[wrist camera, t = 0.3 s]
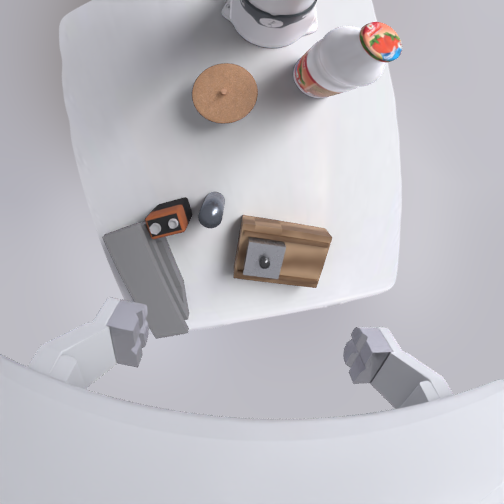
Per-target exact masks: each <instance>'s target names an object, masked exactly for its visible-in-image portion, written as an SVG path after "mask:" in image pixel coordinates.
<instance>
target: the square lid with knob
mask: <svg viewBox="0 0 504 504" xmlns="http://www.w3.org/2000/svg"><path fill="white" fill-rule="evenodd" d="M285 250H286V245H285V243H284V242H282V241H275V240H268V239H262V238H255V237H249V238H248V243H247V249H246V254H245V260H244V265H243V275H249V276H257V277H265V278H273V279H278V278H279V274H280V270H281V266H282V262H283V258H284V254H285Z"/></svg>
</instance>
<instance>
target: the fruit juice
mask: <svg viewBox="0 0 504 504" xmlns="http://www.w3.org/2000/svg"><path fill="white" fill-rule="evenodd" d="M401 51H402V44H401V40H400V38H399V36H398V35H397V33H396V32H395V31H394V30H393V29H392V28H391V27H389V26H387V25H386V24H383V23H380V22H372V23H369V24H366V25H365V26H363V27H362V29H361V28H358V27H353V26H341V27H338V28H335V29H333V30H331V31H330V32H328V33H327V34H326V35H325V36H324V37H323V39H321V40H319V41H318V42H316V43H315V44H314V45H313V46H312V47H311V48H310V49H309V50H308V51H307V52H306V53H305V54H304V55H303V56H302V57H301V58H300V59H299V61H298V62H297V63H296V65H295V67H294V71H293V77H294V81H295V83H296V85H297V87H298V88H299V89H300V90H301V91H302V92H303V93H305V94H306V95H308V96H311V97H314V98H325V97H329V96H332V95H336V94H339V93H343V92H347V91H351V90H353V89H355V88H357V87H362V86H366V85H369V84H371V83H373V82H375V81H376V80H378V79H379V78H380V76H381V75H382V73H383V71H384V69H385V62H390V61H393V60H395V59H397V58H398V57H399V55H400V54H401Z"/></svg>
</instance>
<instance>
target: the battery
mask: <svg viewBox="0 0 504 504" xmlns="http://www.w3.org/2000/svg"><path fill="white" fill-rule="evenodd" d="M191 217H192V212H191V209H190V205H189V202H188V199H187V198H181V199H177V200H173V201H170V202H166V203H162V204H159V205H158V206H157V207H156V208H155V209H154V210H153V211H152V212H151V213H150V214H149V215H148V216H147V217H146V219H145V222H146V224H147V227H148V230H149V233H150V236H151V238H152V239H157V238H161V237H165V236H169V235H173V234H178V233H182V232H184V231H185V230H186V228H187V225H188V223H189V221H190V219H191Z"/></svg>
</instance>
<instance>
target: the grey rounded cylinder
mask: <svg viewBox="0 0 504 504" xmlns="http://www.w3.org/2000/svg"><path fill="white" fill-rule="evenodd" d="M224 204H225V199H224V197H223V195H222V194H221V193H219V192H211V193H209V194H208V195H207V196H206V198H205V200H204V203H203V205H202V207H201V210H200V212H199V215H198V218H199V221H200V223H201V224H202V225H203V226H204V227H207V228H214V227H217V226H218V225H219V224H220V223H221V221H222V216H223V210H224Z"/></svg>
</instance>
